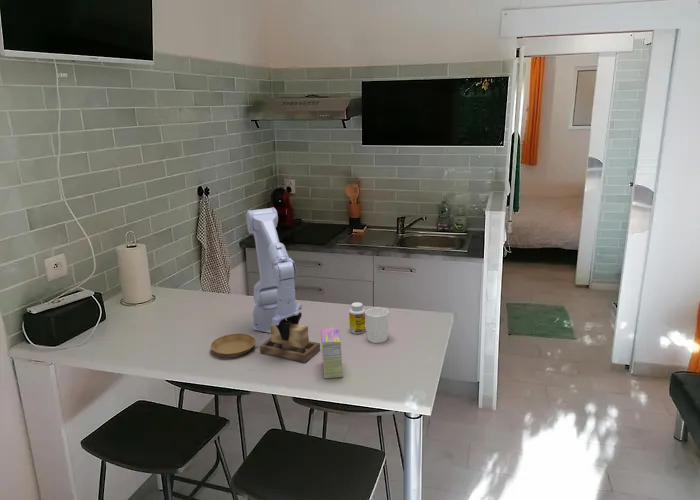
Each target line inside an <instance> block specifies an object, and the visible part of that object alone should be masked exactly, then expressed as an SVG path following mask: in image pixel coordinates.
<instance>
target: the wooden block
mask: <svg viewBox="0 0 700 500" xmlns="http://www.w3.org/2000/svg"><path fill="white" fill-rule="evenodd" d="M308 326H309V325H303V324H299V323H298V324H293V323H291V324H290V328H289V340H288V341H286V340H282V338H281V335H280V332H279V330H278V328H277V327H276V325H273V324H271V325H270V331H271V333H270V338H271V342H275V343H279V344H284V345H289V346H294V347H299V348H303V347H305V346H306V345H307V344H308V343H309V341H310V339H309V327H308Z"/></svg>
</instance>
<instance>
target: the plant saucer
mask: <svg viewBox="0 0 700 500" xmlns="http://www.w3.org/2000/svg"><path fill="white" fill-rule="evenodd" d="M256 341H257V340H256V338H255V337H254V336H252V335H250V334H247V333H232V334H231V333H230V334H226V335H223V336H220V337H218V338H216V339H215V340H213V341H212V342H211V343H210V349H211V350H212V352H214V353H215V354H216V355H219V356H220V357H223V358H235V357H240V356H243V355H245V354H247V353H248V352H250V350H251V349H252V348H253V347H254V346H255V345H256Z"/></svg>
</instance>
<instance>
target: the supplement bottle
mask: <svg viewBox="0 0 700 500" xmlns="http://www.w3.org/2000/svg"><path fill="white" fill-rule="evenodd" d="M365 311H366V309H365V308H364V307H363V303H362V302H353V303H351V307H350V308H349V312H348V314H349V317H348V318H349V332H350V333H352V334H353V335H354V334H356V335H359V334H363V333H364V332H365V331H366V316H365Z"/></svg>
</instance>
